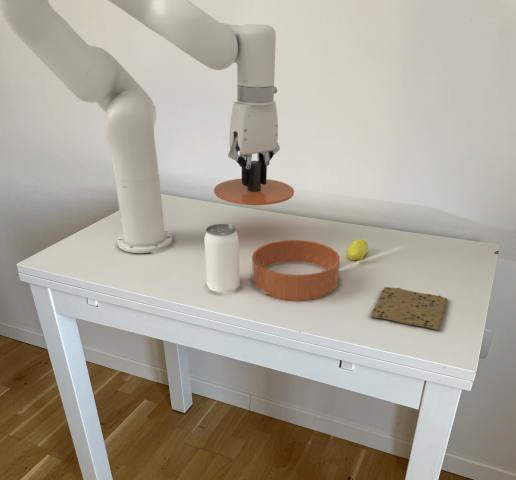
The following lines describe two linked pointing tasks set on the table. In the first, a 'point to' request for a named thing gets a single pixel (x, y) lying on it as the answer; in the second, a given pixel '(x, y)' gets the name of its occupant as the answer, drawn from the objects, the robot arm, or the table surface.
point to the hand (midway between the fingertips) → (254, 183)
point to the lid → (254, 190)
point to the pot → (295, 284)
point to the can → (222, 257)
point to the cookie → (410, 307)
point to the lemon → (357, 249)
